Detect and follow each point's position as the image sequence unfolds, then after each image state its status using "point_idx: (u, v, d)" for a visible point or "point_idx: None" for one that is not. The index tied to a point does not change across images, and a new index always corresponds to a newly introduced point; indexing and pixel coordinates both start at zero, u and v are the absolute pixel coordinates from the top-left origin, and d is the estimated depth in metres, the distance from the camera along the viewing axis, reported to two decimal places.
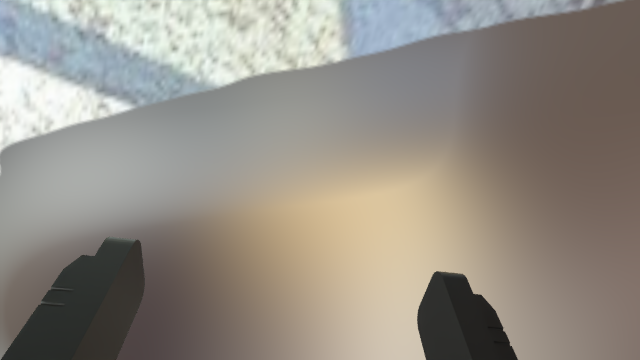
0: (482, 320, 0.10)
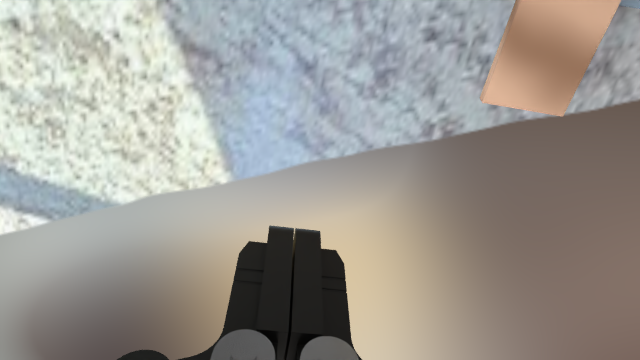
0: (319, 269, 0.10)
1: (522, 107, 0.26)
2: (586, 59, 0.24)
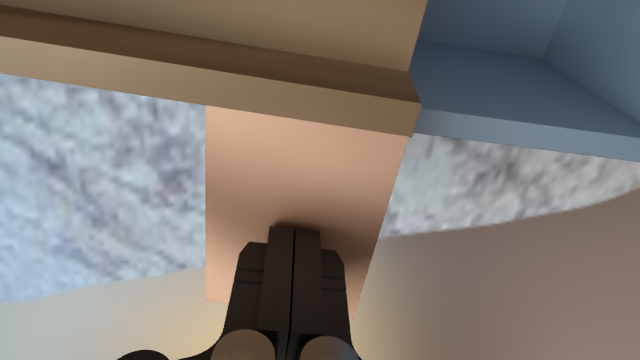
0: (319, 269, 0.10)
1: None
2: (367, 240, 0.12)
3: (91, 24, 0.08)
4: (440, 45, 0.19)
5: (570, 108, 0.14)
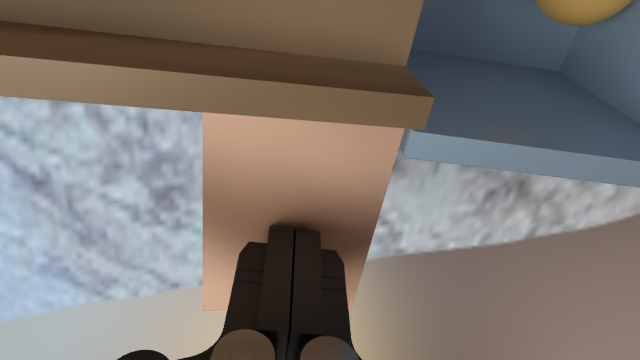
0: (319, 269, 0.10)
1: None
2: (365, 231, 0.12)
3: (80, 34, 0.08)
4: (450, 57, 0.18)
5: (597, 131, 0.13)
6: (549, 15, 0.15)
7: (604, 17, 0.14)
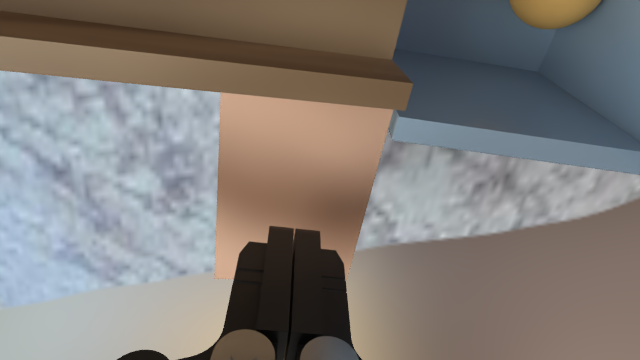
0: (319, 269, 0.10)
1: None
2: (359, 207, 0.14)
3: (124, 29, 0.10)
4: (438, 58, 0.19)
5: (564, 121, 0.15)
6: (522, 19, 0.17)
7: (570, 21, 0.16)
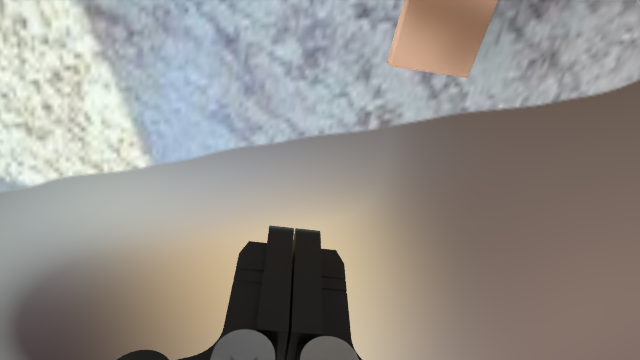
0: (319, 269, 0.10)
1: (429, 69, 0.24)
2: (487, 16, 0.23)
3: None
4: None
5: None
6: None
7: None
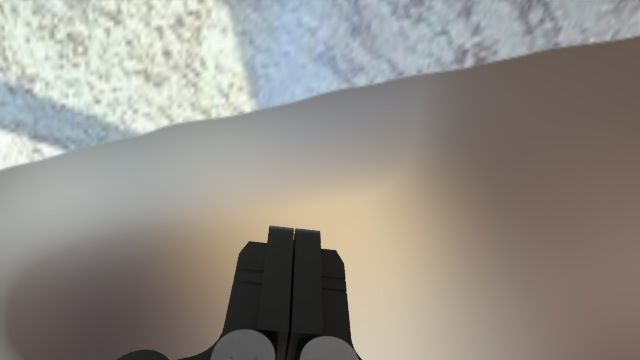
0: (319, 269, 0.10)
1: None
2: None
3: None
4: None
5: None
6: None
7: None
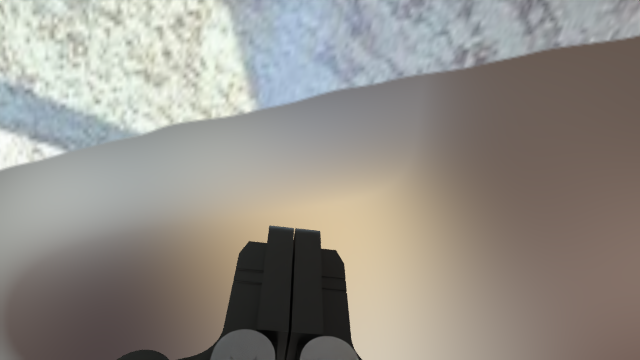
0: (319, 269, 0.10)
1: None
2: None
3: None
4: None
5: None
6: None
7: None
